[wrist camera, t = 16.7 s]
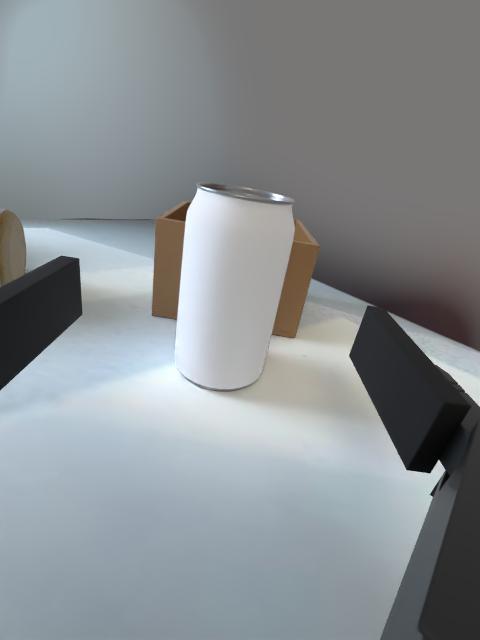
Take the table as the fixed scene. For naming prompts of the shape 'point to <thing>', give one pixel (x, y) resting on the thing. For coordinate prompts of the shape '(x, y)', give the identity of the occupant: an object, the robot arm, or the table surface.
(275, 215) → the can
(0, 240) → the ceramic mug
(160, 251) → the box
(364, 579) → the table surface
